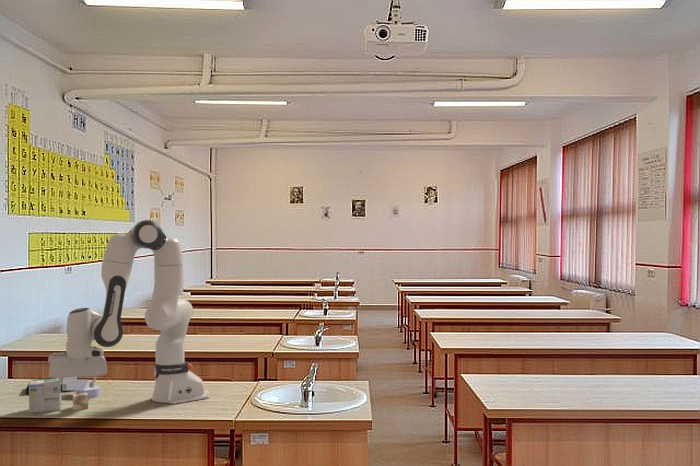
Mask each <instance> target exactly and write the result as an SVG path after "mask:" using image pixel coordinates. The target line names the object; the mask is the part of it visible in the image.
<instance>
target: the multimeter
mask: <svg viewBox="0 0 700 466" xmlns="http://www.w3.org/2000/svg"><path fill="white" fill-rule="evenodd" d="M49 379H50V378H44V379H43V378H42V379H40V380H49ZM52 379H59V378H52ZM68 379H79V377H66V378H63V383H64V384H66V382H67V380H68ZM38 380H39V379H31V380H30V381H29V382H28V384H27V386H26V387H25V388H26V389H25V393H26V394H25V395H27V396H29V384H30V382H31V381H38ZM65 392H67V393H68V392H76V390H62V384H61V393H65Z"/></svg>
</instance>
